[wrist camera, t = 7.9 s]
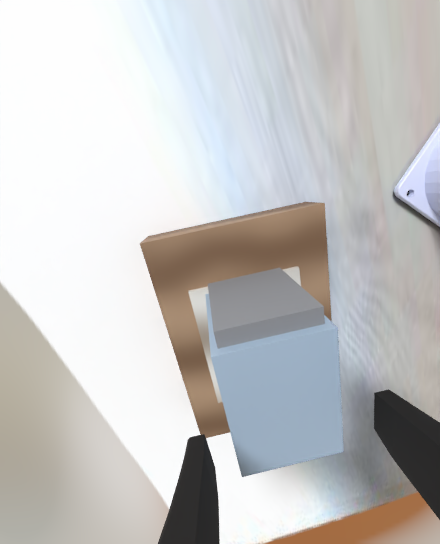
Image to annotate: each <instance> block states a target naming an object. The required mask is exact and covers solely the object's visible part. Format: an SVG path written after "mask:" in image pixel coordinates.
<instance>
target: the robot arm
mask: <svg viewBox="0 0 440 544" xmlns="http://www.w3.org/2000/svg"><path fill="white" fill-rule="evenodd" d="M408 191H409V195H408V196H407V192H408ZM394 193H395V195H396V197H398V198H399V199H401V200H402V201H403V202H405V203H406V204H408V205H409V206H411V207H412V208H413V209H415V210H416V211H418V212H419V213H421V214H422V215H423V216H425V217H426V218H428V219H429V220H430V221H432V222H433V223H435V224H436V225H438V226H439V227H440V123H439V125H438V126H437V128H436V129H435V130H434V132H433V133H432V135H431V136H430V138H429V139H428V141H427V142H426V143H425V145H424V146H423V148H422V149H421V151H420V152H419V154H418V155H417V156H416V158H415V159H414V161H413V162H412V164H411V165H410V167H409V168H408V170H407V171H406V172H405V174H404V175H403V177H402V178H401V180H400V181H399V183H398V184H397V185H396V187H395V190H394ZM374 429H375V431H376V432H377V434H378V436H379V437H380V439H381V440H382V442H383V444H384V445H385V447H386V448H387V450H388V452H389V453H390V455H391V456H392V458H393V459H394V460H395V462H396V463H397V464H398V466H399V467H400V468H401V470H402V471H403V472H404V474H405V475H406V476H407V478H408V479H409V480H410V482H411V483H412V484H413V486H414V487H415V488H416V489H417V491H418V492H419V493H420V495H421V496H422V497H423V498H424V500H425V501H426V502H427V504H428V505H429V506H430V508H431V509H432V510H433V512H434V513H435V514H436V516H437V517H438V518H439V519H440V423H439V422H438V421H436V420H435V419H433V418H432V417H430V416H429V415H427V414H425V413H424V412H422V411H421V410H419V409H418V408H416V407H415V406H413V405H412V404H410V403H409V402H407V401H406V400H404V399H402V398H401V397H399V396H398V395H396V394H395V393H393V392H392V391H390V390H385V391H381V392H377V393H375V399H374ZM158 544H219V507H218V492H217V482H216V472H215V466H214V463H213V460H212V456H211V453H210V450H209V447H208V444H207V441H206V437H205V434H203V435H199V436H194V437H190V438H189V439H188V442H187V447H186V452H185V456H184V460H183V464H182V468H181V472H180V476H179V479H178V483H177V486H176V490H175V493H174V496H173V500H172V503H171V506H170V509H169V513H168V516H167V519H166V521H165V524H164V527H163V530H162V533H161V536H160V539H159V542H158Z"/></svg>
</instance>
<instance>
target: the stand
mask: <svg viewBox="0 0 440 544" xmlns="http://www.w3.org/2000/svg"><path fill="white" fill-rule="evenodd" d="M140 245H141V249H142V252H143V255H144V258H145V261H146V264H147V267H148V271H149V274H150V277H151V280H152V283H153V286H154V289H155V293H156V296H157V299H158V302H159V305H160V308H161V311H162V315H163V318H164V321H165V324H166V327H167V330H168V333H169V337H170V340H171V343H172V346H173V349H174V352H175V355H176V359H177V362H178V365H179V368H180V371H181V374H182V377H183V381H184V384H185V387H186V390H187V393H188V396H189V399H190V403H191V406H192V409H193V412H194V415H195V418H196V421H197V425H198V428H199V431H200V434H201V435H203V434H205V437H206V438H208V437H212V436H216V435H221V434H225V433H229V432H230V429H229V425H228V421H227V417H226V413H225V409H224V406H223V402H222V398H221V394H220V390H219V386H218V383H217V379H216V375H215V371H214V367H213V363H212V360H211V353H210V342H209V330H208V319H207V307H206V296H205V294H209V291H208V284H209V283H214V282H218V281H222V280H227V279H231V278H236V277H240V276H245V275H249V274H254V273H258V272H262V271H267V270H271V269H276V268H281V269H282V270H283V271H284V272H285V273H286V274H288V275H289V276H290V277H291V278H292V279H293V280H294V281H295V282H297V283H298V284H299V285H300V286H301V287H302V288H303V289H305V290H306V291H307V292H308V293H309V294H310V295H311V296H312V297H314V298H315V299H316V300H317V301H318V302H319V303H320V304H322V305H323V306H324V315H325V316H326V317H327V318H328V319H329V320H330V321H331V306H330V289H329V272H328V254H327V237H326V220H325V203H315V202H303V203H299V204H294V205H290V206H285V207H280V208H276V209H271V210H267V211H262V212H258V213H253V214H248V215H244V216H239V217H235V218H230V219H226V220H221V221H216V222H212V223H207V224H203V225H198V226H194V227H189V228H184V229H180V230H175V231H171V232H166V233H161V234H157V235H152V236H148V237H147V238H146V239H145V240H144V241H142V242H141V243H140Z"/></svg>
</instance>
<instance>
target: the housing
mask: <svg viewBox="0 0 440 544" xmlns="http://www.w3.org/2000/svg"><path fill="white" fill-rule="evenodd" d="M208 291H209V294H205V296H206V307H207V319H208V330H209V342H210V353H211V360H212V363H213V367H214V371H215V375H216V379H217V383H218V386H219V390H220V394H221V398H222V402H223V406H224V409H225V413H226V417H227V421H228V425H229V429H230V432H231V436H232V440H233V444H234V448H235V452H236V455H237V459H238V463H239V467H240V471H241V475H242V477H244V476H248V475H252V474H256V473H260V472H264V471H269V470H273V469H277V468H281V467H285V466H289V465H293V464H297V463H301V462H305V461H309V460H313V459H317V458H321V457H325V456H329V455H334V454H338V453H342V452H344V447H343V427H342V406H341V385H340V365H339V344H338V327H337V326H336V325H334V324H333V323H332V322H331V321H330V320H329V319H328V318H327V317H326V316H325V315H324V306H323V305H322V304H320V303H319V302H318V301H317V300H316V299H315V298H314V297H312V296H311V295H310V294H309V293H308V292H307V291H306V290H305V289H303V288H302V287H301V286H300V285H299V284H298V283H297V282H295V281H294V280H293V279H292V278H291V277H290V276H289V275H288V274H286V273H285V272H284V271H283V270H282V269H281V268H276V269H271V270H267V271H262V272H258V273H254V274H249V275H245V276H240V277H236V278H231V279H227V280H222V281H218V282H214V283H209V284H208Z"/></svg>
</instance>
